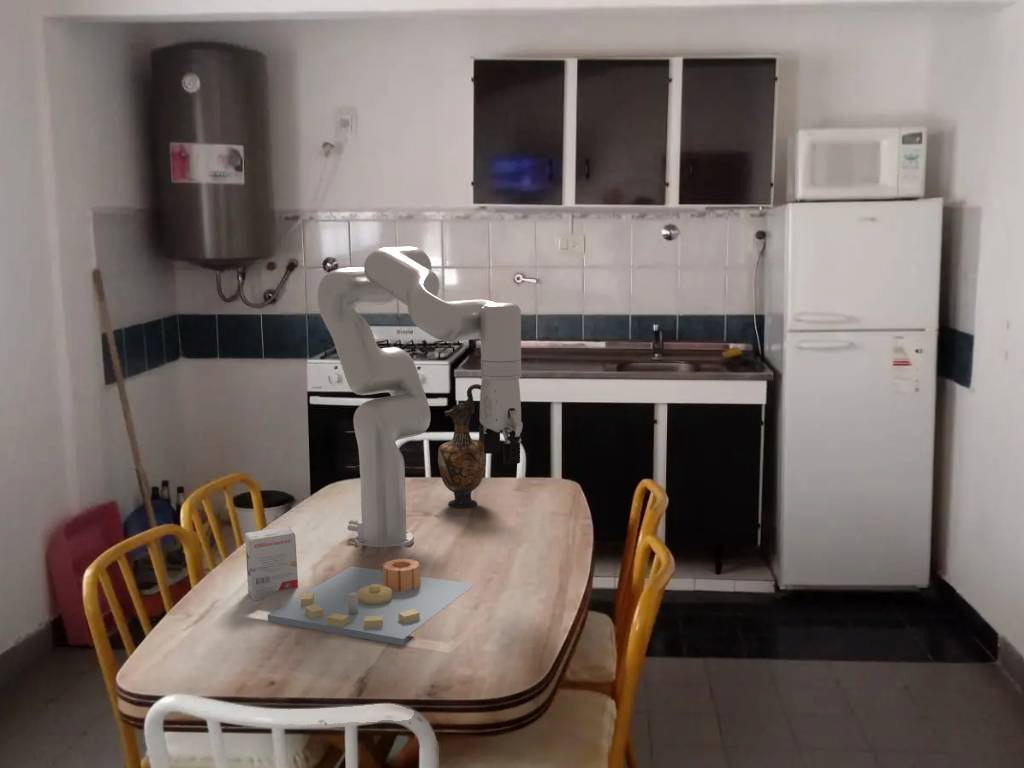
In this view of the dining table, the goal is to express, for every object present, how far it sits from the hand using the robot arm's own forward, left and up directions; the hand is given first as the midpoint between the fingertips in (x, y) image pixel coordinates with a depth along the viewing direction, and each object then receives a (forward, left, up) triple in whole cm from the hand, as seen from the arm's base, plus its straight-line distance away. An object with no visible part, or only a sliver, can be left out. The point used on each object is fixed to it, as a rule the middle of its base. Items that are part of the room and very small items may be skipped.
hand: (501, 458), depth 190 cm
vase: (-30, +44, -24) cm, 58 cm away
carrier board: (-16, -21, -24) cm, 36 cm away
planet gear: (-15, -13, -23) cm, 30 cm away
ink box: (-37, -23, -24) cm, 50 cm away
